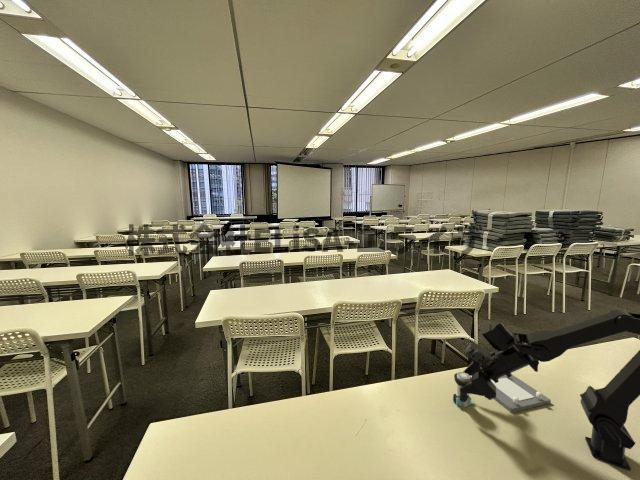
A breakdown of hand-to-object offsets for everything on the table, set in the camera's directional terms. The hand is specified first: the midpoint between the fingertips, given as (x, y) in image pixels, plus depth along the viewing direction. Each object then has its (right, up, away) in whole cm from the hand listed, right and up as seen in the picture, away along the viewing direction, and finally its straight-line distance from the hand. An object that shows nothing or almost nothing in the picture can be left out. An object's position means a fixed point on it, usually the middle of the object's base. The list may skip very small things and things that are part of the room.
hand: (461, 382), depth 82 cm
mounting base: (+19, -6, +5) cm, 21 cm away
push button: (+1, -7, 0) cm, 7 cm away
